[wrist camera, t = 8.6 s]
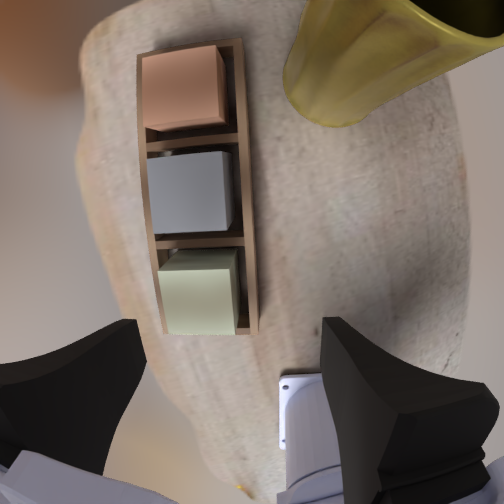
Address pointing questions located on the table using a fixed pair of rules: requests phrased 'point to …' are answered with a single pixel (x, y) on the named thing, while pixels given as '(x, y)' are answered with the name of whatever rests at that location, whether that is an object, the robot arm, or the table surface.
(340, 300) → the table surface
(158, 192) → the grey block
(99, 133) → the table surface
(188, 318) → the walnut rack
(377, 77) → the vase
